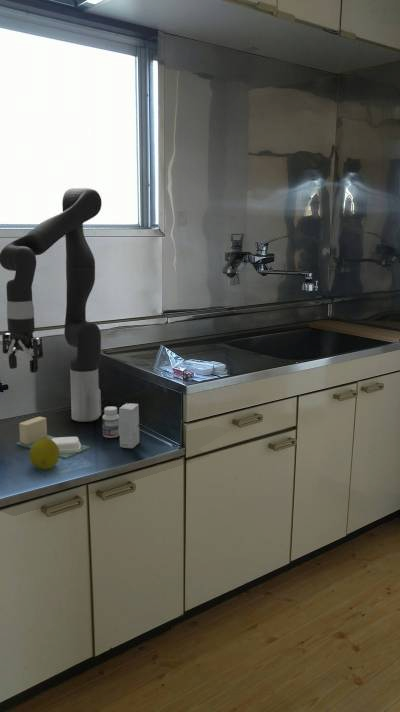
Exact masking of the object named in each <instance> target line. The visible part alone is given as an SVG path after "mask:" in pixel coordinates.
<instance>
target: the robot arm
mask: <svg viewBox="0 0 400 712" xmlns="http://www.w3.org/2000/svg"><path fill="white" fill-rule="evenodd" d="M61 205H62V212H60V213H59V214H58V213H57V214H55V215H53V216H52V217H50V218H47V219H46V220H44V221H42V222H40V223H39V224H37V225H36V226H34V228H33V229H31V230H30V231H29V232H28V233H27V234H25V235H23V236H21V237H18V238H16V239H15V240H13V241H11V242H9V243H8V244H7V245H5V246H4V247H3V248H2V250H1V251H0V265H1V267H2V268H3V269H4V270H7V271H13V272H15V274H14V278H13V279H11V280H10V279H9V280H8V281H7V283H6V302H7V303H6V322H7V332H6V333H3V334H2V335H1V336H2V338H1V339H2V343H1V345H2V354H6V355H7V357H8V366H9V368H10V369H12V370H13V369H14V370H15V369H17V367H18V359H17V355H16V354H17V353H18V351H22V352H24V354H25V355H26V356H27V358H29V371H30V373H37V372H38V370H39V365H38V364H39V362H38V361H39V359H41V358H44V352H43V351H44V350H43V340H42V337H40V336H39V337H34V335H33V334H34V332H35V328H36V326H35V325H36V324H35V311H34V310H35V308H34V303H33V282H34V278H35V274H36V273H35V272H36V268H37V257H36V256H41V255H43V254H44V253H45V252H46V251H48V250H49V249H50V248H52V247H53V245H54V244H56V242H58V241H59V240H61V239H62V238H63V237H64V236H65V265H66V266H65V274H66V275H65V278H66V282H65V283H66V308H65V320H64V339H65V341H66V343H67V344H68V345H69V346H71V347H73V348H76V349H77V350H76V352H77V353H76V357H75V358H73V359H71V360H70V362H69V372H70V373H69V374H70V377H69V378H70V401H71V403H70V405H71V406H70V407H71V409H70V410H71V420H73V421H76V422H79V423H81V422H83V423H84V422H85V423H86V422H93V421H96V420H98V419H100V416H102V399H101V398H102V396H101V395H102V394H101V392H102V391H101V389H100V387H99V386H100V385H99V363H100V361H101V355H102V354H101V353H102V350H101V349H102V334H101V330H100V327H99V325H97V324H96V323H94V322H91V321H87V320H86V319H87V318H86V315H87V313H86V310H87V309H86V307H87V302H88V300H89V297H90V294H91V293H92V290H93V288H94V285H95V280H96V262H95V257H94V254H93V252H92V249H91V247H90V246H89V244H88V242H87V240H86V237H85V233H84V223H86V222H88V221H90V220H92V219H93V218H95V217H96V216H97V215H98V214H99V213H100V211H101V209H102V197H101V195H100V194H99V192H98V191H97V190H96V189H93V188H89V187H88V188H87V187H79V188H77V187H73V188H68V189H66V191H65V192H64V193H63V196H62V203H61Z"/></svg>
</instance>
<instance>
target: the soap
mask: <svg viewBox="0 0 400 712" xmlns="http://www.w3.org/2000/svg"><path fill="white" fill-rule="evenodd" d="M52 441H54V442H55V443H56V445H57V446H58V448H59V452H60V453H73V452H80V451H81V445H82V444H81V442H80V439H79V437H78V436H63V437H62V436H61V437H60V436H59V437H56V438H52ZM80 453H81V452H80Z"/></svg>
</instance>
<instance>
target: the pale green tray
mask: <svg viewBox="0 0 400 712" xmlns="http://www.w3.org/2000/svg"><path fill="white" fill-rule="evenodd" d="M47 425H48V422H47V417H43V416H41V415H40V416H37V417H34V418H30V419H27V420H25V421H22V422H19V424H18V427H19V428H18V429H19V441H18V442H16V445H17V446H21V447H24V448H27V449H30V450H31V447H32V446H33V444H34V443H35V442H36V441H38V440H40V439H44V438H47V439H50V440H52V438H57V437H55V436H52V435H49V434H48V428H47V427H48V426H47ZM90 448H91V446H88V445H84V444H81V451H80V452H73V453H59V459H65V460H67V459H69V458H71V457H74V456H76V455H79V454H80V453H82V452H85V451H87V450H89V449H90Z"/></svg>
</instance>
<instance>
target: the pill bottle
mask: <svg viewBox="0 0 400 712" xmlns="http://www.w3.org/2000/svg"><path fill="white" fill-rule="evenodd" d="M103 411H104V414H103V415H102V417H101V418H102V436H103V437H104V438H107V439H108V438H109V439H114V438H117V437H120V431H119V413H118V407H117V406H106V407H104V410H103Z"/></svg>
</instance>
